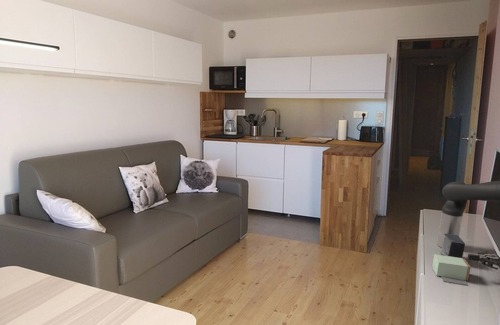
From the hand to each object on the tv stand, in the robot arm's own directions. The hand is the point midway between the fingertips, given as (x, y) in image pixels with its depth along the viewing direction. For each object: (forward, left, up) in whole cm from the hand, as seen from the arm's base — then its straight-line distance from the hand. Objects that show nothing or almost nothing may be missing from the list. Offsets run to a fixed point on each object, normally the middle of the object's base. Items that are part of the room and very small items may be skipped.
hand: (468, 256), depth 159 cm
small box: (-17, -1, -9) cm, 19 cm away
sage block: (0, 0, -6) cm, 6 cm away
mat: (+1, -6, -9) cm, 11 cm away
